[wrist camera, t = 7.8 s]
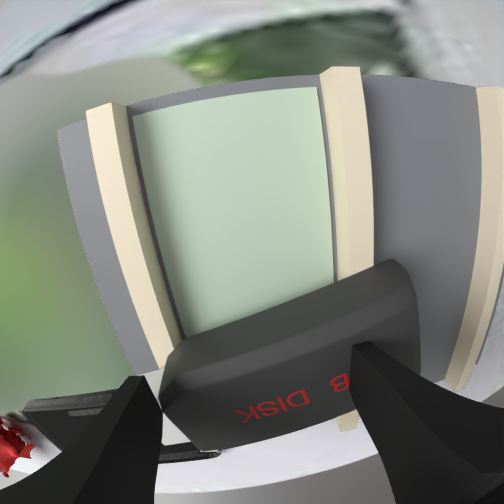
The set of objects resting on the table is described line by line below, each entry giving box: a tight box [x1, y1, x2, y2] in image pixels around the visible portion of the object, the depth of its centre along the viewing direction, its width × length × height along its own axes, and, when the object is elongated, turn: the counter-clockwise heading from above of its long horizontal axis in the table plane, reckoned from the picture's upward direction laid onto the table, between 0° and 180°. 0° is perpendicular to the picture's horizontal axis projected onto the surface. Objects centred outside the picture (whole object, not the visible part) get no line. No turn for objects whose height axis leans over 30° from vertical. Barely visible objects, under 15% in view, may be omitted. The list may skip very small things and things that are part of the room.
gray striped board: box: [57, 67, 504, 452], centre depth 13 cm, size 22×18×2 cm
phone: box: [23, 388, 222, 464], centre depth 17 cm, size 8×1×15 cm
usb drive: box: [137, 259, 421, 452], centre depth 11 cm, size 5×12×3 cm, turn 112°
